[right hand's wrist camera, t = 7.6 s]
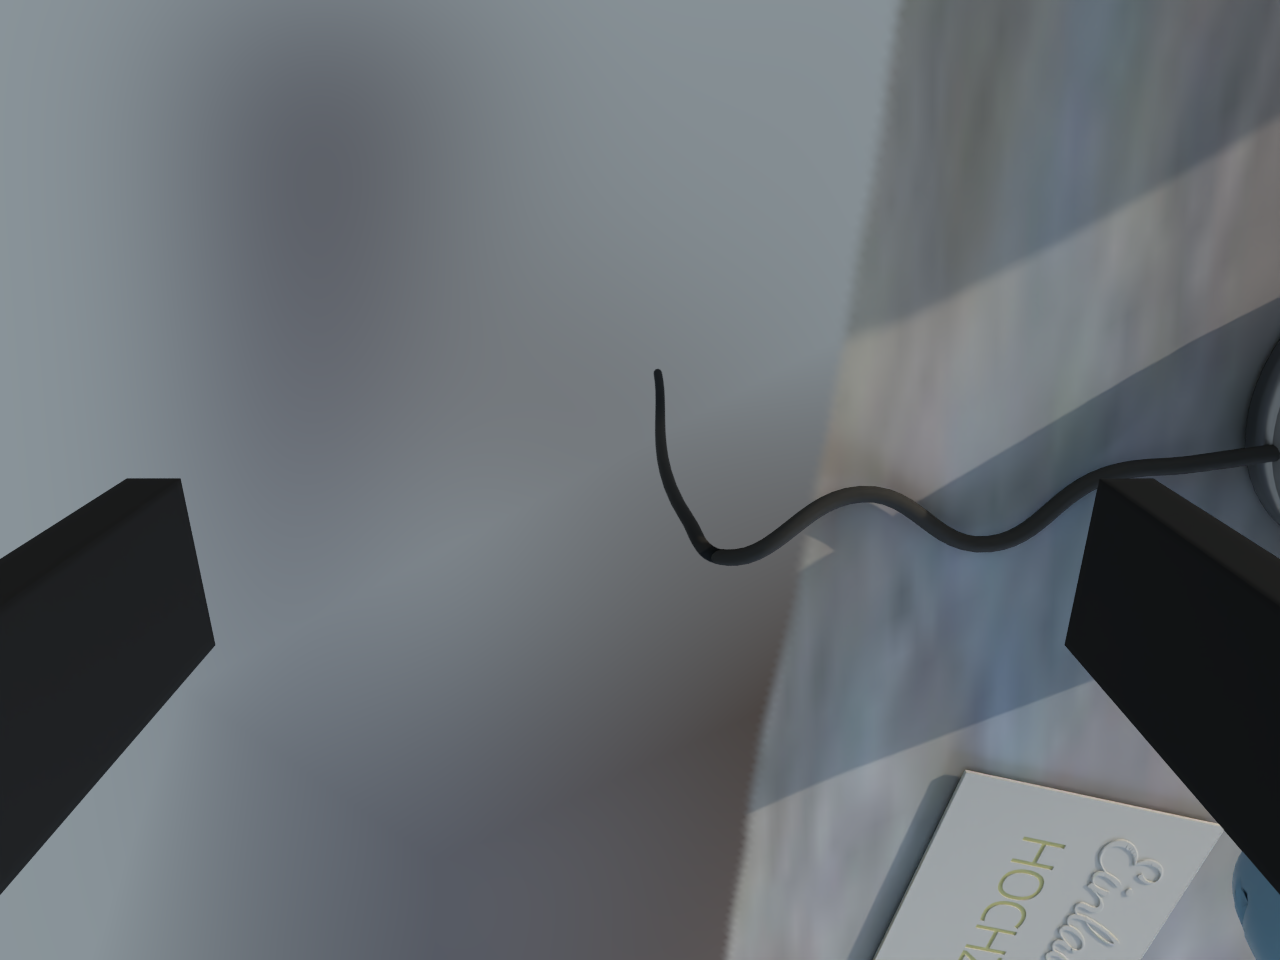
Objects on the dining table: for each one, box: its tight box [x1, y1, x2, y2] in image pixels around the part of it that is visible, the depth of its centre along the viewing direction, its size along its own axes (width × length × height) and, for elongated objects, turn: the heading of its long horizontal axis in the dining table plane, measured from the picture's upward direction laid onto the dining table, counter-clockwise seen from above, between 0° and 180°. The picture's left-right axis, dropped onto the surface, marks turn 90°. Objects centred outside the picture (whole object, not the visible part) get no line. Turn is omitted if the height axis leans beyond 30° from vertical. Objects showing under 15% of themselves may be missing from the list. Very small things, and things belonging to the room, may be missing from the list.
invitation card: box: [873, 770, 1224, 960], centre depth 49 cm, size 21×1×15 cm
